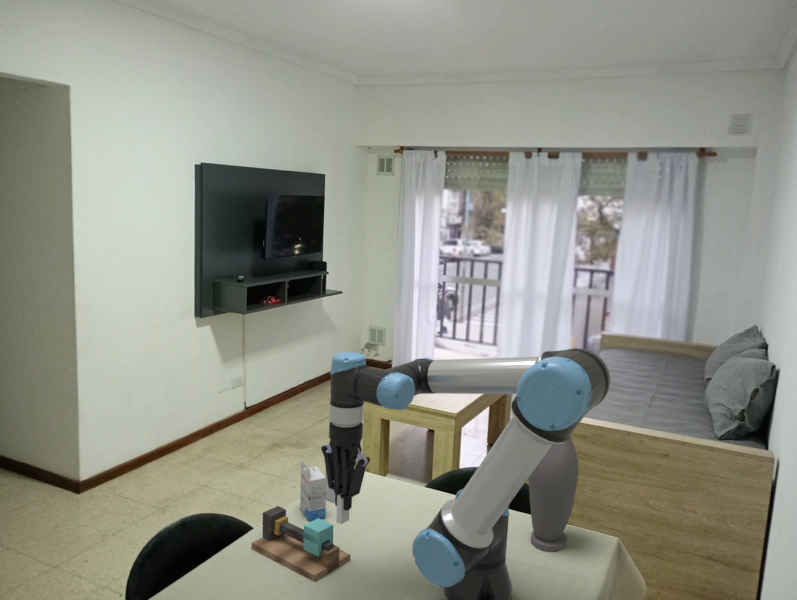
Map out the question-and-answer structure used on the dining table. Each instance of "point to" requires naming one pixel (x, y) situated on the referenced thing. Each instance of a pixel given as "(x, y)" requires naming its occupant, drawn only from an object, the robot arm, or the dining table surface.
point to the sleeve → (317, 535)
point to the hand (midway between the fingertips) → (342, 521)
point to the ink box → (312, 492)
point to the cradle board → (296, 547)
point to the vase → (553, 496)
